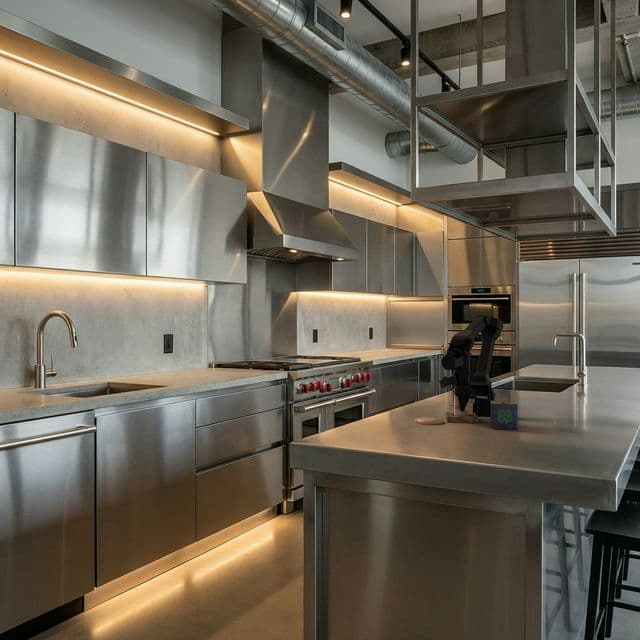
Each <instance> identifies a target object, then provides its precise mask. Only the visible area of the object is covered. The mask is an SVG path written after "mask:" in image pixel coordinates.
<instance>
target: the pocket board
mask: <svg viewBox="0 0 640 640" xmlns="http://www.w3.org/2000/svg"><path fill="white" fill-rule="evenodd" d="M445 420H446V423H462V424H479V416H477V415H476V414H475V413H472V412H469V416H454V411H453V412H451V411H450V412H449V411H448V412H447V411H446V412H445Z"/></svg>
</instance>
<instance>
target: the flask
mask: <svg viewBox="0 0 640 640" xmlns="http://www.w3.org/2000/svg"><path fill="white" fill-rule="evenodd" d="M507 400H508V399H507V398H505V397H503V398H502V400H501V401H499V400H498V401H495V400H494V401H493V402H491V416H490V418H489V419H490V426H489V427H490V429H491V430H501V431H502V430H503V431H505V430H507V431H508V430H509V431H510V430H511V431H515V430H516V431H517V430H518V427H519V426H518V423H519V422H518V421H519V418H518V415H519V411H518V407H519V404H518V403H517V402H508V401H507Z"/></svg>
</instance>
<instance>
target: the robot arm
mask: <svg viewBox="0 0 640 640" xmlns="http://www.w3.org/2000/svg"><path fill="white" fill-rule="evenodd" d="M503 329H504V322H503V321H502V320H501V319H500V318H498V317H493V316H491V315H489V314H487V313H486V314H484V313H483V314H475V316H474V319H473V320H472V321H471V322H470V323H469V324H468V325H467V327H465V328H464V330H462V331H459V332H456V333H455V334H454V335H453V336H452V337H451V339H450V342H449V345H448V348H447V350H446V352H445V353H446V354H445V355H443V357H442V359H441V361H440V362H441V366H442V369H444V370H446V371H452V370H453V371H452V374H451V375H444V376H442V377H441V378H438V383H439V385H440V389H444V388H447V387H449V386H451V389H452V393H453V394H454V395H456V396H457V397H458V400H459V406H460V411H461V412H464V409H465V407H466V405H467V402H468V400H469V401H470V400H473V401H472V403H471V413H475V414H476V415H477V417H491V403H492V401H493V402H495V400H496V393H495V391H494V389H493V386H492V379H491V377H490V372H491V366H492V362H493V361H492V360H493V355H494V350H495V345H496V341H497V340H498V339H499V338H500V337H501V335H502V331H503ZM479 334H481V337H482V341H481V342H482V343H481V346H480V352H479V356H478V361H477V367H476V372H475V374H471V370H470V369H471V357H472V356H473V354H472V352H471V350H472V349H473V347H474V345H475V339H476V338H477V337H478V336H479Z"/></svg>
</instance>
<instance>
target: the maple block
mask: <svg viewBox="0 0 640 640" xmlns="http://www.w3.org/2000/svg"><path fill="white" fill-rule="evenodd" d="M453 399H454V401H453V402H454V403H453V407H454V408H453V410H454V411H453V413H454V416H469V413H470V399H469V400H468V402H467V405H466V407H465V409H464V412H461V411H460V406H459V400H458V397H457V396H456V395H455V394H454V398H453Z"/></svg>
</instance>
